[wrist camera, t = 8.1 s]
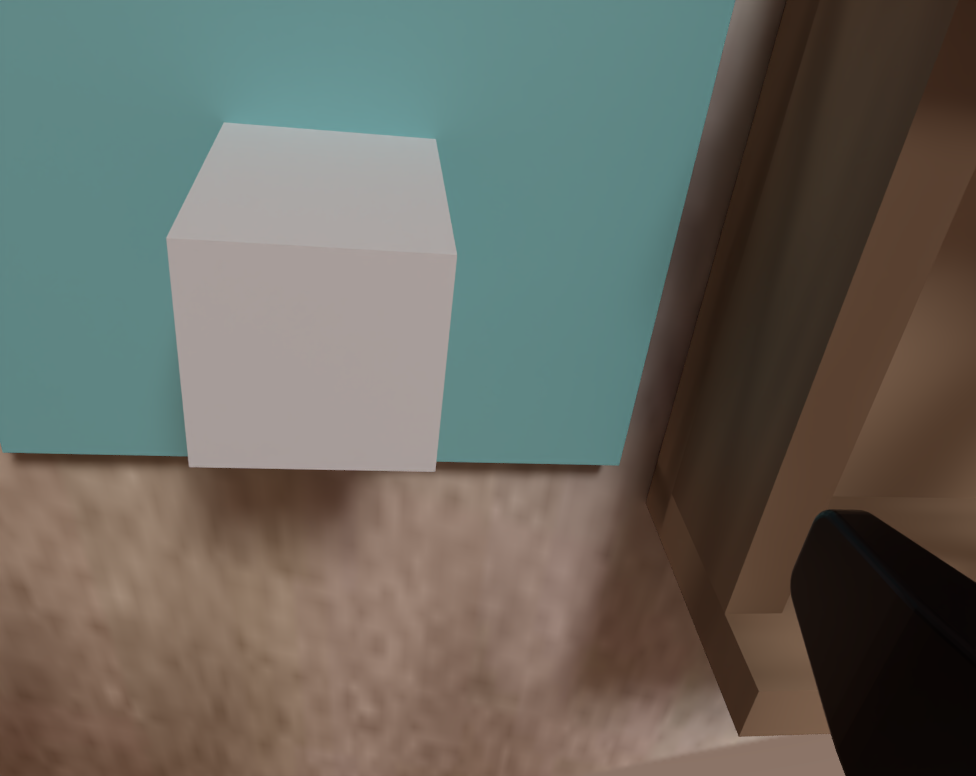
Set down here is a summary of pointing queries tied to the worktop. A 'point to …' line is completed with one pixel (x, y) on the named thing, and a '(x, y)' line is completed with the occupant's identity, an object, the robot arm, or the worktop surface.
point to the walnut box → (829, 337)
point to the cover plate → (402, 62)
